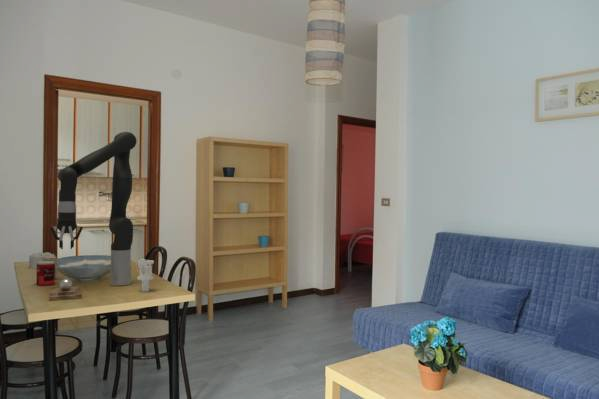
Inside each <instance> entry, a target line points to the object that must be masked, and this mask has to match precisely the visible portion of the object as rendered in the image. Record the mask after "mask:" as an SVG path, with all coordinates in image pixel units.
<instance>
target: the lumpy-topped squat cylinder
mask: <svg viewBox="0 0 599 399" xmlns="http://www.w3.org/2000/svg"><path fill="white" fill-rule="evenodd" d="M45 256H56V255H55V254H54V253H51V252H48V251H46V252H41V251H40V252H34V253H32V254H30V255H29V256H28V257H29V259H28V261H29V263H28V264H29V265H28V266H29V267H30V268H29V269H31V268H32V269H31V270H37V262H41V261H42V259H43V257H45Z"/></svg>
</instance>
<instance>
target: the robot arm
mask: <svg viewBox="0 0 599 399" xmlns="http://www.w3.org/2000/svg"><path fill="white" fill-rule="evenodd" d="M136 145H137V137H136V136H135V134H134V133H132V132H130V131H129V132H128V131H121V132H119V133H117V134H116V135H115V136H114V138H113V141H111V142H110V143H108V144H106V145H104V146H103V147H101V148H98V149H96V150H94V151H92V152H90V153H89V154H87V155H85V156H83V157H82V158H81V157H80V159H78V160H77V161H75V162H73V163H72V164H70V165H68V166H65V167H63V168H62V169H60V170H59V171H58V174H57V179H58V181H60V189H59V190H58V205H57V224H56V225H55V226H51V227H50V231H51V233H52V235H53V238H54V240H56V241H58V242H59V243H58V244H59V245H58V246H59V249H61V250H64V249H63V247H64V246H63V245H64V240H63V238H64V234H69V236H70V249H71V250H72V249H73V248H75V247H74V246H75V241H76V240H78V239H79V238H80V235H81V233H82V231H83V226H81V225H78V224H77V202H76V200H77V198H76V196H77V194H76V191H77V190H76V189H77V185H78V178H79V177H81V176H83V175H86V174H87V173H89V172H91V171H93V170H94V169H96V168H98V167H100V166H101V165H102V164H104V163H106V162H107V161H108V160H111V159H112V158H113V169H112V184H111V186H112V187H111V209H110V215H109V216H110V217H109V223H108V228H109V232H111V234H112V235H113V236H114V237H113V242H112V243H111V244H110V281H109V282H110V286H114V287H115V286H117V287H119V286H121V287H123V286H128V285H132V265H131V263H132V262H131V261H132V260H131V259H132V258H131V257H132V256H131V254H132V244H133V239H134V238H133V237H134V225H133V222H132V220H131V219H130V218H128V217H127V206H128V203H129V200H130V197H131V195H132V191H133V174H132V169H131V165H130V164H131V163H130V158H131V157H130V156H131V155H130V154H131V150H133V149H134V148H135V147H136ZM57 229H58V230H59V231H60V235H59V236H58V235H57V232H56V231H57ZM75 230H77V233H76V235H75V236H74V231H75Z"/></svg>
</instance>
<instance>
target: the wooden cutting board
mask: <svg viewBox="0 0 599 399" xmlns="http://www.w3.org/2000/svg"><path fill="white" fill-rule="evenodd" d="M77 299H82V288H81V286H79V285H78V286H72V287H71V288H70V289H68V290H63V289H61V288H60V287H51V288H50V292H49V298H48V300H49V301H50V302H53V301H63V300H64V301H65V300H77Z"/></svg>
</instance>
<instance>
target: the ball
mask: <svg viewBox="0 0 599 399" xmlns="http://www.w3.org/2000/svg"><path fill="white" fill-rule="evenodd" d="M71 287H73V282H72V280H71V279H69V278H63V279H62V280H61V281H60V282H59V288H61V289H63V290H68V289H70V288H71Z"/></svg>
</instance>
